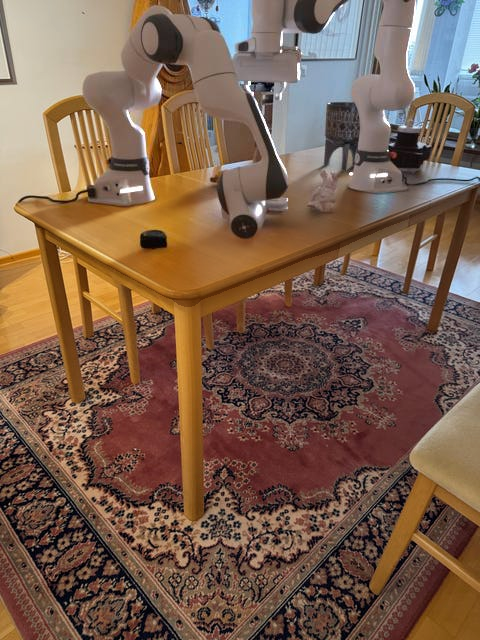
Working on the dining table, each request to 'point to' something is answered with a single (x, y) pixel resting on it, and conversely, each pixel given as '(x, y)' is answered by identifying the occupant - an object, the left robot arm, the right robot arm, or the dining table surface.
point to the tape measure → (153, 239)
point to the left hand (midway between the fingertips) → (256, 196)
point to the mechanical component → (409, 148)
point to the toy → (216, 177)
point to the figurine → (324, 194)
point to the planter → (341, 131)
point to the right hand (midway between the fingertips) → (264, 99)
